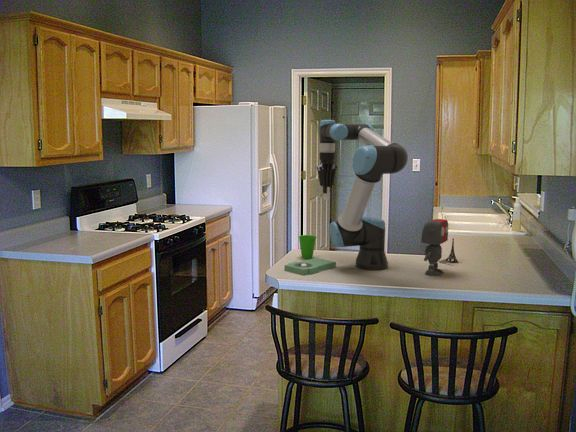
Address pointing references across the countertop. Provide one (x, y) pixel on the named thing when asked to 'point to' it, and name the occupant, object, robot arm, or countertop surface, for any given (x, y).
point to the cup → (307, 246)
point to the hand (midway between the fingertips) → (326, 199)
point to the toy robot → (434, 243)
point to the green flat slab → (310, 266)
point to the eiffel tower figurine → (450, 256)
